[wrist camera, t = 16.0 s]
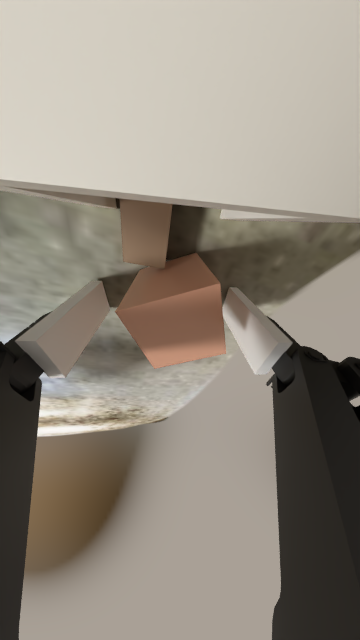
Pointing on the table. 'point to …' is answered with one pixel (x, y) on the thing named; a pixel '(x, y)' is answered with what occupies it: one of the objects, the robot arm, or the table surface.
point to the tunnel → (184, 104)
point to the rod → (145, 232)
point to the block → (175, 312)
